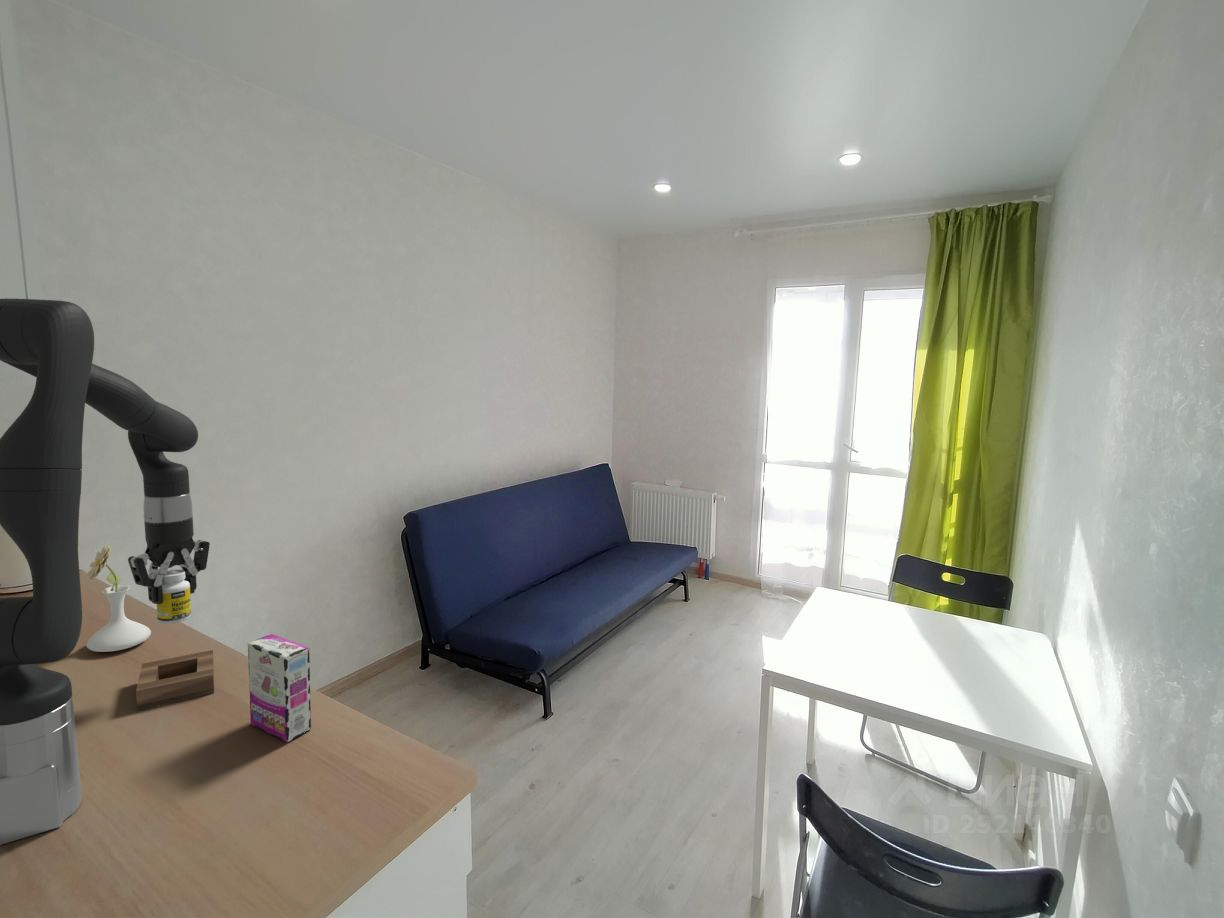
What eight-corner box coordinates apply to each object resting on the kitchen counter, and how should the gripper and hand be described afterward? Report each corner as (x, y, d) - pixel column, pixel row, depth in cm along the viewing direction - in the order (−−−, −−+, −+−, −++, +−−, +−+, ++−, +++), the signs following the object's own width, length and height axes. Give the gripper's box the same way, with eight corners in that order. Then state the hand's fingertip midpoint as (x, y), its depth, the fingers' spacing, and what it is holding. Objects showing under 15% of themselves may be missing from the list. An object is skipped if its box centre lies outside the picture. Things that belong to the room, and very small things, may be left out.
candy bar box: (313, 729, 104) (311, 646, 102) (287, 744, 100) (284, 658, 97) (275, 711, 109) (272, 632, 107) (249, 724, 105) (245, 642, 102)
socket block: (214, 692, 114) (213, 674, 113) (137, 710, 107) (135, 691, 106) (213, 666, 124) (213, 649, 123) (143, 681, 117) (142, 663, 116)
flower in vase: (96, 638, 133) (88, 537, 130) (157, 631, 138) (150, 533, 135) (75, 664, 122) (65, 554, 118) (142, 655, 127) (134, 549, 123)
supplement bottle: (172, 626, 110) (169, 578, 109) (150, 622, 111) (147, 575, 110) (198, 615, 115) (195, 569, 114) (176, 611, 116) (174, 566, 115)
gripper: (140, 527, 102) (146, 614, 105) (218, 511, 116) (222, 589, 118) (113, 521, 105) (120, 607, 107) (193, 506, 118) (197, 583, 120)
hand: (173, 597), depth 113 cm, fingers closed on supplement bottle, 5 cm apart
